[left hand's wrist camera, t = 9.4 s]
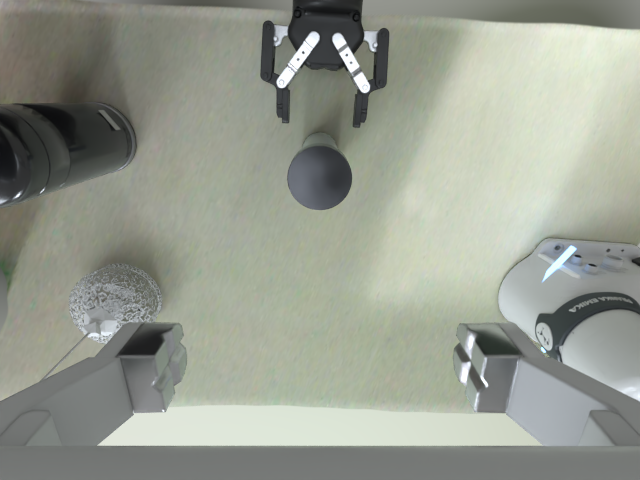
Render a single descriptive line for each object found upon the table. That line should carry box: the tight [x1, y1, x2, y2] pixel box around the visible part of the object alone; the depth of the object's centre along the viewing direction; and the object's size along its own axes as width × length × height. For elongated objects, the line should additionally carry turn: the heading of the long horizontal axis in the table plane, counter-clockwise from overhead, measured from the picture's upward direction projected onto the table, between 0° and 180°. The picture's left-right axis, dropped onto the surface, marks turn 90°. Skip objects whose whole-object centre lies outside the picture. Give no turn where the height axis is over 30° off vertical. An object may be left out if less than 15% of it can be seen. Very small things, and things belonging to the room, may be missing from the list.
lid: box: [288, 143, 352, 210], centre depth 33 cm, size 6×6×2 cm
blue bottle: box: [302, 132, 338, 149], centre depth 42 cm, size 5×5×19 cm
